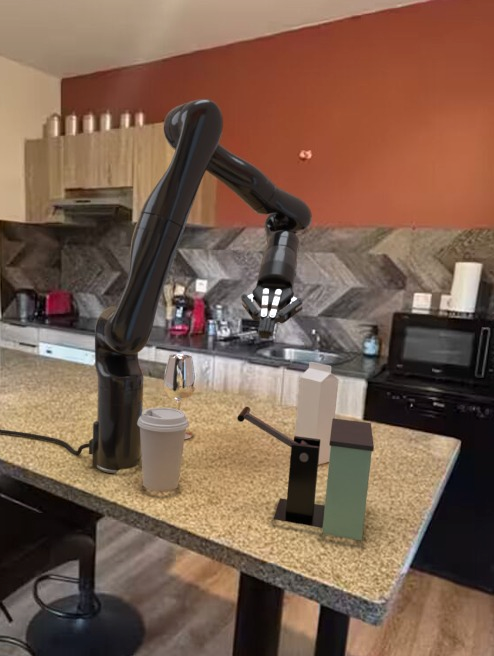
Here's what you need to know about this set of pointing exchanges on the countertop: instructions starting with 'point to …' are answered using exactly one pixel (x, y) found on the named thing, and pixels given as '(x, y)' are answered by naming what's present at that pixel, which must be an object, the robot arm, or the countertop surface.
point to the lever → (266, 427)
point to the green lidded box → (347, 478)
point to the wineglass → (179, 380)
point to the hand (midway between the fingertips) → (264, 335)
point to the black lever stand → (302, 486)
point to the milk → (317, 406)
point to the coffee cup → (162, 447)
